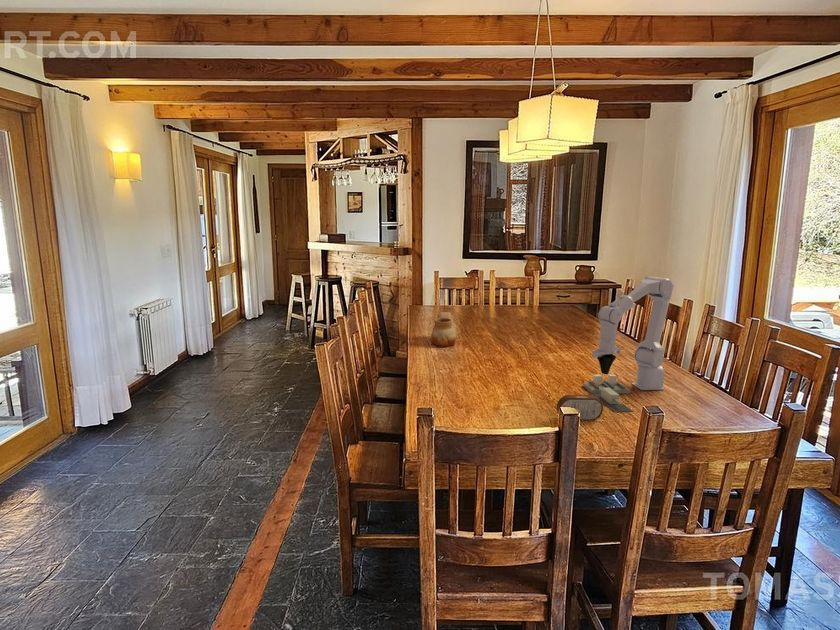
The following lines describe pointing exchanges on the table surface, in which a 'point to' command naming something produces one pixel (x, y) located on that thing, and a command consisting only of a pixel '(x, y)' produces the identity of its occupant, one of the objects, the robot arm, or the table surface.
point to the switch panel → (597, 388)
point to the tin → (583, 405)
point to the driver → (610, 396)
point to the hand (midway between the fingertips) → (604, 373)
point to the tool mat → (614, 405)
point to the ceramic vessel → (444, 331)
